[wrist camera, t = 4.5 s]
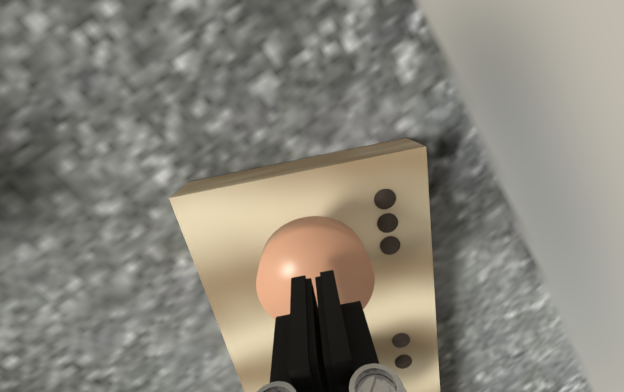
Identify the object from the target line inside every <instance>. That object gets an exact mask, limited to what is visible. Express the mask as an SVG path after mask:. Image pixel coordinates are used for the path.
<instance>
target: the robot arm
mask: <svg viewBox="0 0 624 392" xmlns="http://www.w3.org/2000/svg"><path fill="white" fill-rule="evenodd" d="M315 281H316V291H317V301H318V305H317V301H316V297H315V292H314V288H313V284H312V279H311V278H308V279H306V276H305V275H303V276H298V277H293V278H291V297H290V314H288V315H283V316H277V317H276V320H275V330H274V340H273V351H272V362H271V373H270V383H268V384H266V385H264V386H263V387H262V388H260V389H259V390H258V391H257V392H407V391H406V389H405V387H404V385H403V383H402V382H401V380H400V378H399V377H398V375H397V374H396V373H395V372H394V371H393V370H392V369H390V368H389V367H387V366H385V365H382V364H379V361H378V357H377V354H376V351H375V347H374V344H373V341H372V337H371V334H370V331H369V327H368V324H367V321H366V318H365V314H364V311H363V308H362V304H361V302H360V301H356V302H351V303H345V304H340V300H339V295H338V290H337V285H336V280H335V275H334V271H333V270H329V271H324V272H320V276H318V277H315Z"/></svg>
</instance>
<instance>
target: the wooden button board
mask: <svg viewBox="0 0 624 392" xmlns="http://www.w3.org/2000/svg"><path fill="white" fill-rule="evenodd" d="M169 199H170V202H171V204H172V207H173V209H174V212H175V215H176V217H177V220H178V222H179V225H180V227H181V230H182V233H183V235H184V238H185V240H186V243H187V245H188V248H189V250H190V253H191V256H192V258H193V261H194V263H195V266H196V268H197V271H198V274H199V276H200V279H201V281H202V284H203V286H204V289H205V292H206V294H207V297H208V299H209V302H210V304H211V307H212V310H213V312H214V315H215V317H216V320H217V322H218V325H219V328H220V330H221V333H222V335H223V338H224V340H225V343H226V346H227V348H228V351H229V353H230V356H231V358H232V361H233V364H234V366H235V369H236V371H237V374H238V376H239V379H240V382H241V384H242V387H243V389H244V392H257V391H258V390H259V389H260V388H262V387H263V386H264V385H266V384H268V383H270V373H271V362H272V351H273V340H274V330H275V319H273V318H272V317H271V316H270V315H269V314H268V313H267V312H266V311H265V309H264V308H263V306H262V305H261V303H260V300H259V298H258V295H257V290H256V278H257V273H258V268H259V263H260V259H261V254H262V251H263V248H264V246H265V244H266V242H267V240H268V239H269V238H270V236H271V235H272V234H273V233H274V232H275V231H276V230H277V229H279V228H280V227H281V226H283V225H284V224H286V223H288V222H290V221H293V220H295V219H299V218H302V217H309V216H321V217H328V218H332V219H335V220H338V221H340V222H342V223H344V224H345V225H347V226H348V227H350V228H351V229H352V230H353V231H354V232H355V233H356V234H357V235H358V237H359V238H360V240H361V241H362V243H363V245H364V248H365V250H366V252H367V254H368V257H369V259H370V261H371V264H372V266H373V270H374V277H375V283H374V289H373V293H372V296H371V298H370V300H369V302H368V304H367V305H366V307H365V308H364V309H363V311H364V314H365V318H366V321H367V324H368V327H369V331H370V334H371V337H372V341H373V344H374V347H375V351H376V354H377V357H378V361H379V364H382V365H385V366H387V367H389V368H390V369H392V370H393V371H394V372H395V373H396V374H397V375H398V377H399V378H400V380H401V382H402V383H403V385H404V387H405V389H406V391H407V392H440V379H439V361H438V344H437V326H436V309H435V291H434V274H433V256H432V239H431V221H430V204H429V186H428V169H427V151H426V146H424V145H422V144H419V143H417V142H415V141H412V140H410V139H408V138H403V139H398V140H393V141H388V142H383V143H378V144H373V145H368V146H363V147H359V148H354V149H349V150H344V151H339V152H334V153H329V154H324V155H319V156H314V157H309V158H304V159H299V160H294V161H289V162H284V163H279V164H274V165H270V166H265V167H260V168H255V169H250V170H245V171H240V172H235V173H230V174H225V175H220V176H215V177H210V178H205V179H200V180H195V181H190V182H188V183H187V184H185V185H184V186H183V187H182V188H181V189H179V190H178V191H177V192H176V193H175V194H174V195H172V196H171V197H170V198H169Z"/></svg>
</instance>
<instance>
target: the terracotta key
mask: <svg viewBox="0 0 624 392" xmlns="http://www.w3.org/2000/svg"><path fill="white" fill-rule="evenodd" d="M329 270H333V271H334V275H335V280H336V285H337V290H338V295H339V300H340V304H345V303H351V302H356V301H360V302H361V304H362V308H363V309H364V308H365V307H366V305H367V304H368V302H369V300H370V298H371V296H372V293H373V289H374V283H375V277H374V270H373V266H372V264H371V261H370V259H369V257H368V254H367V252H366V250H365V248H364V245H363V243H362V241H361V240H360V238H359V237H358V235H357V234H356V233H355V232H354V231H353V230H352V229H351V228H350V227H348V226H347V225H345V224H344V223H342V222H340V221H338V220H335V219H332V218H328V217H321V216H309V217H302V218H299V219H295V220H293V221H290V222H288V223H286V224H284V225H283V226H281V227H280V228H279V229H277V230H276V231H275V232H274V233H273V234H272V235H271V236H270V238H269V239H268V240H267V242H266V244H265V246H264V248H263V251H262V254H261V259H260V263H259V268H258V273H257V278H256V290H257V295H258V298H259V300H260V303H261V305H262V306H263V308H264V309H265V311H266V312H267V313H268V314H269V315H270V316H271V317H272V318H273V319H275V320H276V317H277V316H283V315H288V314H290V297H291V278H293V277H298V276H303V275H305V276H306V279H308V278H311V279H312V284H313V288H314V292H315V297H316V301H317V291H316V281H315V277H318V276H320V272H324V271H329ZM317 305H318V301H317Z"/></svg>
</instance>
